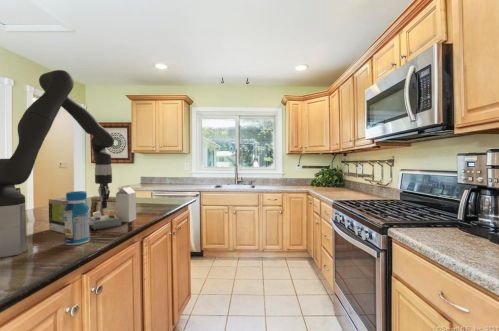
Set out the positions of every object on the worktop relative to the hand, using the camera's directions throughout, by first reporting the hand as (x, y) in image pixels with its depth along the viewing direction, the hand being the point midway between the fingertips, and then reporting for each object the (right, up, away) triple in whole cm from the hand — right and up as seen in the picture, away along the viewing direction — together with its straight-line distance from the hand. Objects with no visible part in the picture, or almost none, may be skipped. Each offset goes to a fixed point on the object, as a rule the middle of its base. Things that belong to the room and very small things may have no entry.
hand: (104, 208), depth 132 cm
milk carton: (+7, -9, +9) cm, 14 cm away
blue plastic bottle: (+5, -9, -28) cm, 30 cm away
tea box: (-13, -9, -7) cm, 18 cm away
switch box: (0, -9, 0) cm, 8 cm away
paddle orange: (+2, -3, +2) cm, 4 cm away
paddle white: (-2, -3, -2) cm, 4 cm away
